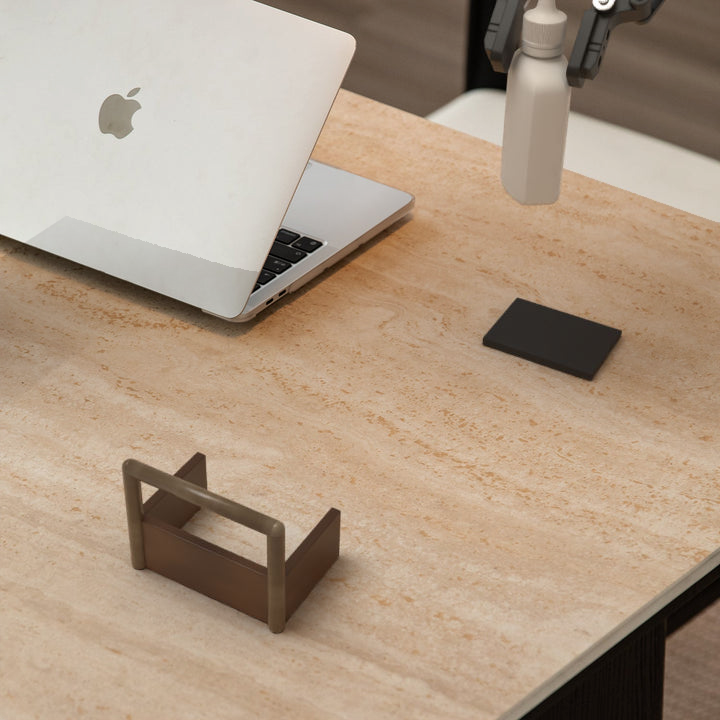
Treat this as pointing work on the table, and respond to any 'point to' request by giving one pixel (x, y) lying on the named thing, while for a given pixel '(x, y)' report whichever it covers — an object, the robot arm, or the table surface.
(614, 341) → the mat
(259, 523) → the caddy
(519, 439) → the table surface
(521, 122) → the eye dropper bottle
